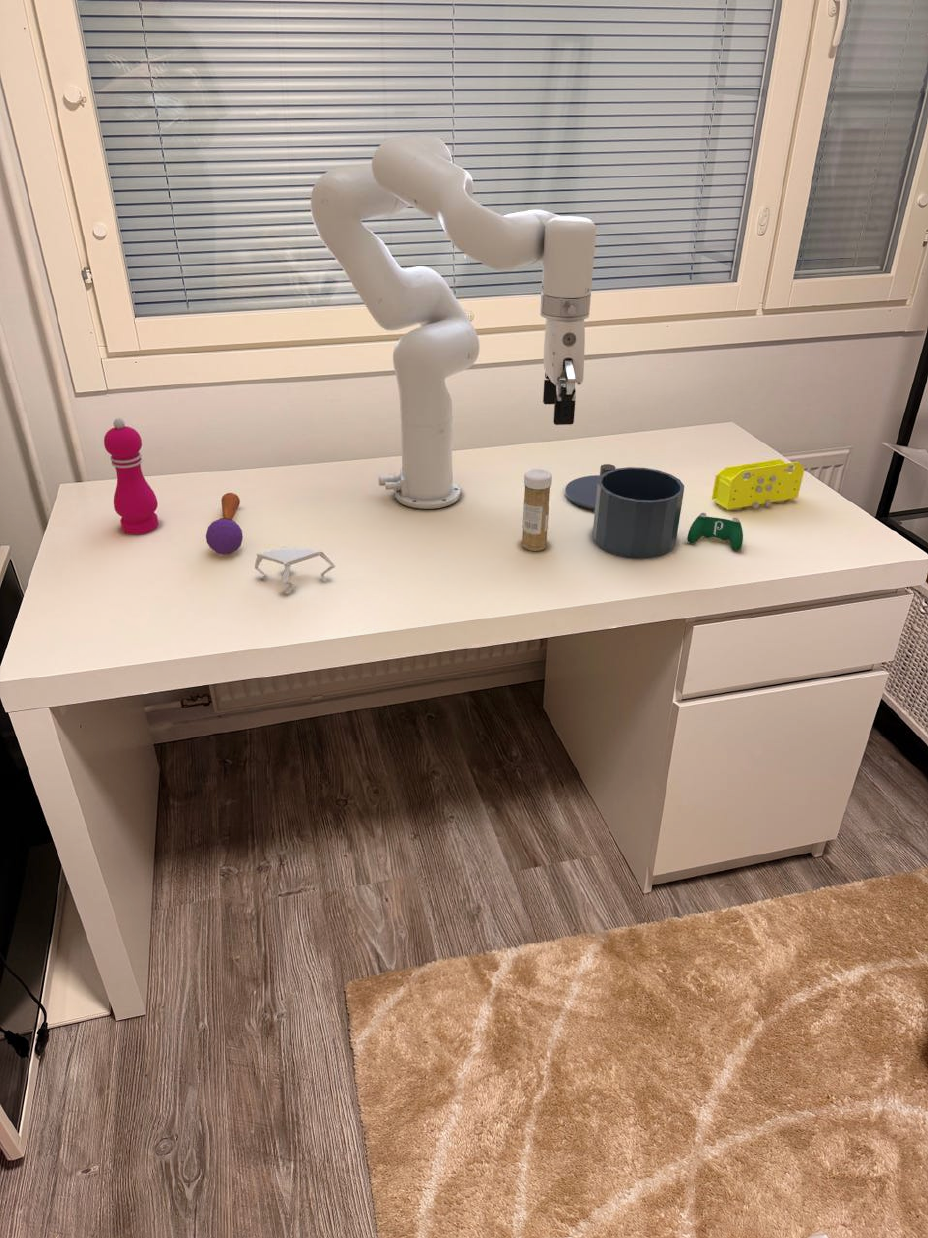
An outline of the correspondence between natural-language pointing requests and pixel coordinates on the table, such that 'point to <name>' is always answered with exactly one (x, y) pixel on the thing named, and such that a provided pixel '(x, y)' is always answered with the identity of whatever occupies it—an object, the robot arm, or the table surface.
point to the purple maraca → (225, 528)
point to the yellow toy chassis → (757, 484)
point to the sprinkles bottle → (536, 509)
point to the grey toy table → (290, 561)
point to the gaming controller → (717, 530)
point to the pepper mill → (130, 480)
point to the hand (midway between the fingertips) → (557, 413)
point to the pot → (637, 512)
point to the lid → (586, 488)
